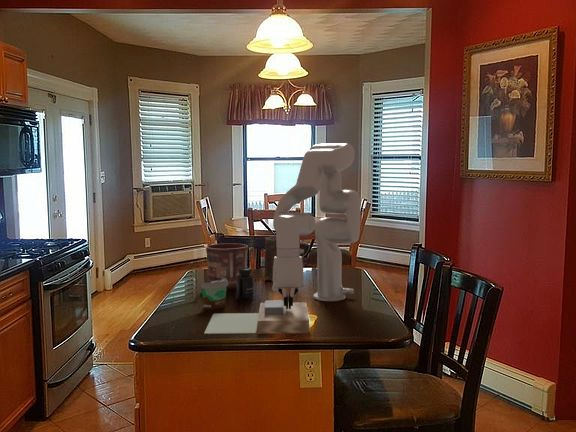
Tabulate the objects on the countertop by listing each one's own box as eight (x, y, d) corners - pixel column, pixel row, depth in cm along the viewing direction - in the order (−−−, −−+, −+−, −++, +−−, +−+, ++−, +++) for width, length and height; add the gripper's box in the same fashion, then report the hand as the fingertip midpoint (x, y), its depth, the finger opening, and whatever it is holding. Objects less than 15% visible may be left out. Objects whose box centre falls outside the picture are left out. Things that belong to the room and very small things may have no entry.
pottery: (238, 293, 217) (237, 249, 216) (199, 290, 223) (199, 247, 221) (254, 284, 234) (254, 244, 232) (218, 281, 239) (218, 242, 238)
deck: (306, 313, 186) (306, 302, 185) (309, 333, 164) (309, 320, 163) (260, 314, 186) (260, 302, 185) (257, 333, 164) (257, 320, 163)
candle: (284, 280, 241) (283, 236, 240) (275, 283, 235) (274, 238, 233) (270, 278, 246) (269, 235, 244) (261, 281, 239) (260, 237, 238)
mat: (259, 314, 186) (259, 313, 186) (255, 333, 164) (255, 332, 164) (213, 314, 185) (213, 313, 185) (204, 334, 164) (204, 333, 164)
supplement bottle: (251, 301, 203) (251, 270, 202) (234, 300, 205) (233, 269, 204) (256, 297, 210) (255, 267, 209) (239, 296, 211) (239, 266, 210)
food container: (214, 312, 189) (213, 284, 188) (201, 309, 192) (200, 282, 191) (235, 304, 199) (235, 278, 198) (222, 302, 202) (222, 276, 201)
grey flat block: (283, 307, 179) (283, 300, 178) (283, 314, 170) (283, 307, 169) (265, 307, 179) (265, 300, 178) (264, 315, 170) (264, 307, 169)
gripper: (310, 250, 176) (310, 305, 178) (265, 251, 176) (265, 305, 178) (311, 254, 169) (311, 310, 171) (264, 255, 169) (265, 311, 170)
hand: (288, 308), depth 174 cm, fingers closed
